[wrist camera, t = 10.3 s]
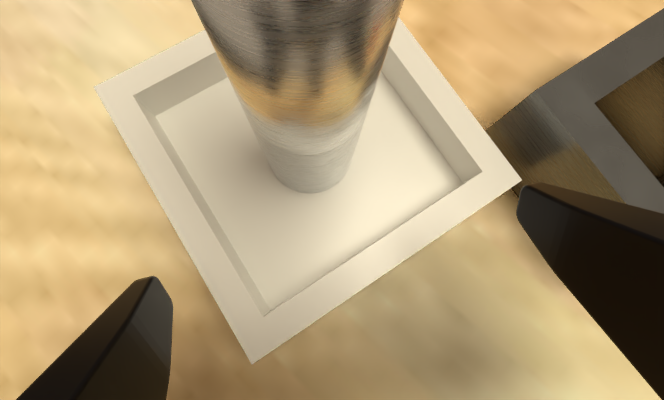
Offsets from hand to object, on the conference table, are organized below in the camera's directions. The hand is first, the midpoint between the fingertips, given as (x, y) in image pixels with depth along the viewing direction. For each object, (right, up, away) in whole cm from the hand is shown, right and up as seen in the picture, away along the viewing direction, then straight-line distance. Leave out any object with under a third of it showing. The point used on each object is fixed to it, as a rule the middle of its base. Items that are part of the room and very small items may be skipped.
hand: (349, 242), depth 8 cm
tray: (-2, +3, +9) cm, 10 cm away
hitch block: (+13, +3, +9) cm, 16 cm away
